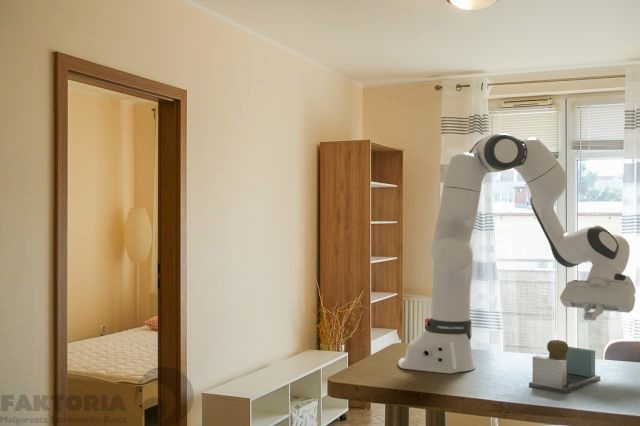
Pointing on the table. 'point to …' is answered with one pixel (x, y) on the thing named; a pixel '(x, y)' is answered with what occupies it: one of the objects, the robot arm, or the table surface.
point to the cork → (558, 352)
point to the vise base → (556, 376)
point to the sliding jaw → (581, 361)
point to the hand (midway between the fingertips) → (589, 319)
